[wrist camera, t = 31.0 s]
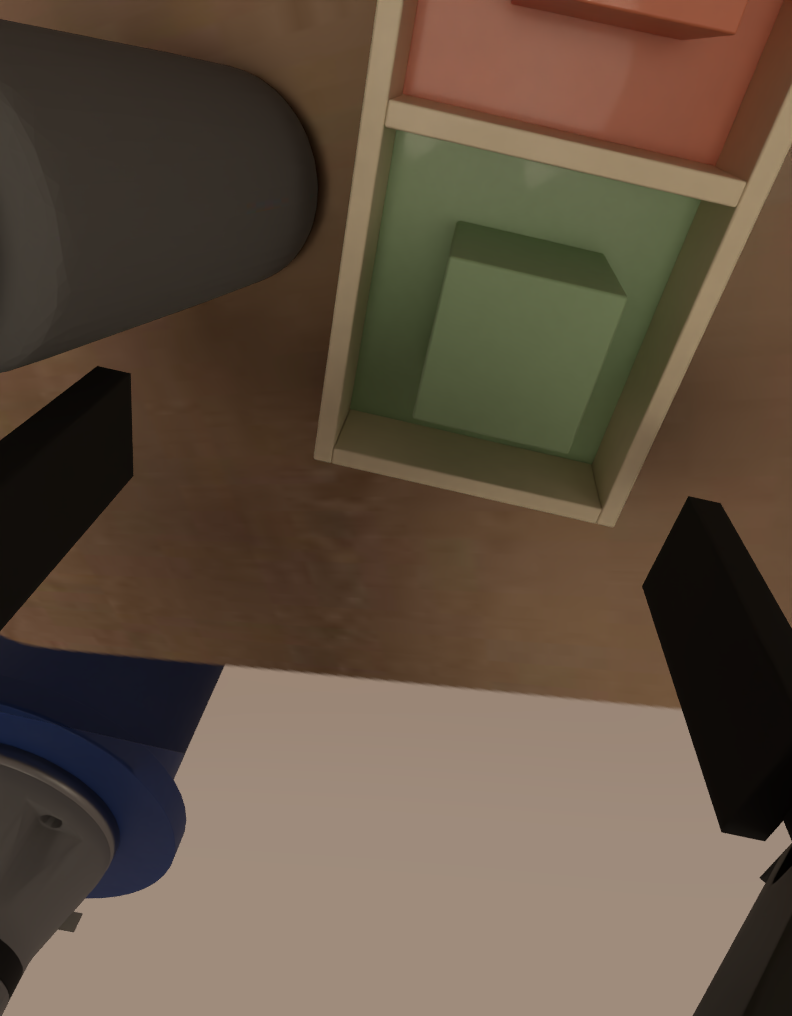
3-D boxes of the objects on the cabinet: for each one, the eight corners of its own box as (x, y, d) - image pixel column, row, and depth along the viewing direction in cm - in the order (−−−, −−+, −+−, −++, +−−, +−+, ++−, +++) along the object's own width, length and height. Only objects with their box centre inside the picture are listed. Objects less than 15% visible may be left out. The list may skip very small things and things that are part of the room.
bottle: (270, 319, 22) (-229, 557, 9) (121, 212, 22) (-593, 304, 9) (355, 144, 19) (-227, 141, 6) (182, 17, 19) (-788, -258, 6)
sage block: (425, 360, 23) (411, 419, 19) (457, 219, 20) (448, 255, 16) (556, 390, 23) (568, 455, 19) (605, 253, 20) (629, 297, 16)
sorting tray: (333, 414, 25) (312, 459, 22) (469, -475, 13) (462, -616, 11) (600, 475, 25) (614, 528, 22) (957, -360, 14) (1078, -471, 11)
